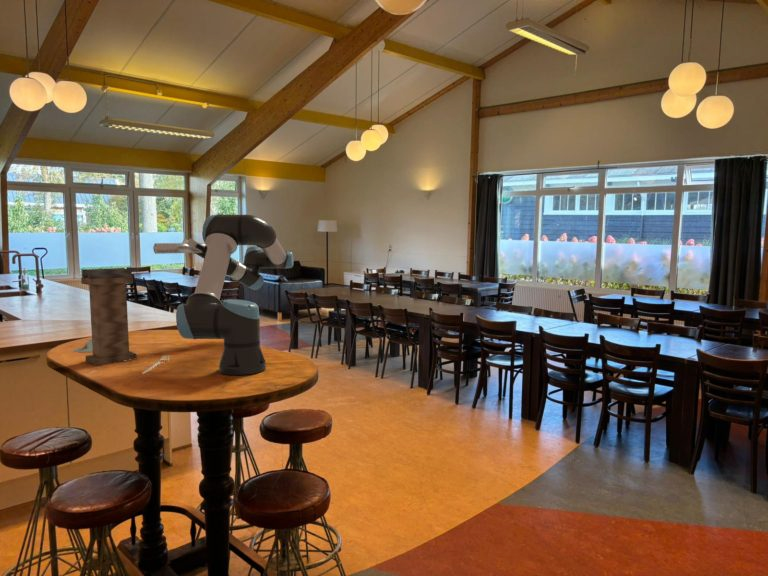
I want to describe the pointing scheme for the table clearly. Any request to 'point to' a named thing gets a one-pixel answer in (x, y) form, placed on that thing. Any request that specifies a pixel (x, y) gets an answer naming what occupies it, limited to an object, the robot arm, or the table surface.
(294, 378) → the table surface
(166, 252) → the chrome rounded rod
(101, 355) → the walnut stand
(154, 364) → the fork
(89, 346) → the metal bracket
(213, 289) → the robot arm
